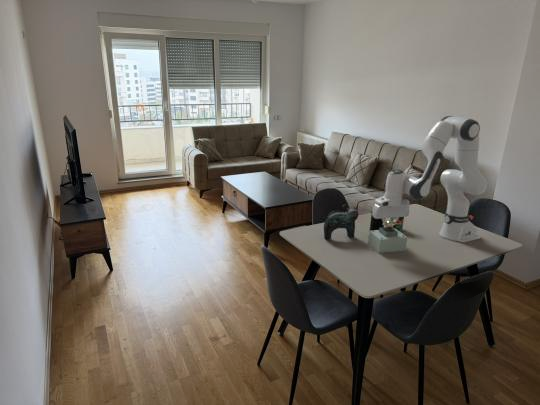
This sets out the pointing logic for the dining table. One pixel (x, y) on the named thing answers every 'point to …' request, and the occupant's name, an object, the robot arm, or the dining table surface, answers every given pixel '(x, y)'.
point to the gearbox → (387, 240)
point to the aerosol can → (375, 223)
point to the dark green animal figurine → (341, 222)
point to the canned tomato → (398, 223)
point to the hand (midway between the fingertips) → (389, 224)
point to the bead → (389, 224)
